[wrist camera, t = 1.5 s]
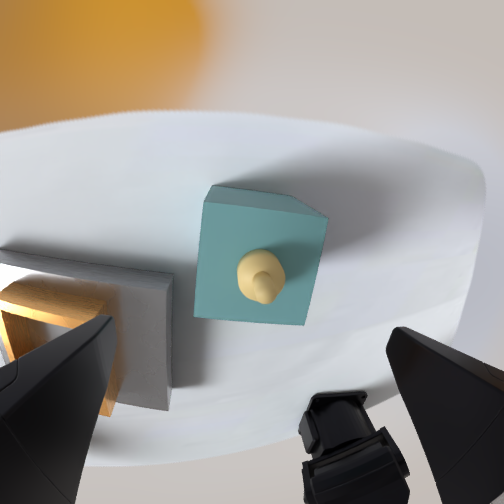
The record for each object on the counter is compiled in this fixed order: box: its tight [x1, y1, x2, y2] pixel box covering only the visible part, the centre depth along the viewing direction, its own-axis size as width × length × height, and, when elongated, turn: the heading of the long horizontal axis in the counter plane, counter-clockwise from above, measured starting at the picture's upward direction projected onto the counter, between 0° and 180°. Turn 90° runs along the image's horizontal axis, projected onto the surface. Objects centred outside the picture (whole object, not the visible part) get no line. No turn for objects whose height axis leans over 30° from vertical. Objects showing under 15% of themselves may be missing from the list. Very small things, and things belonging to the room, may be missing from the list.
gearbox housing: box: [0, 249, 173, 417], centre depth 19 cm, size 19×12×6 cm, turn 82°
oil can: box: [194, 186, 329, 325], centre depth 16 cm, size 6×6×11 cm
